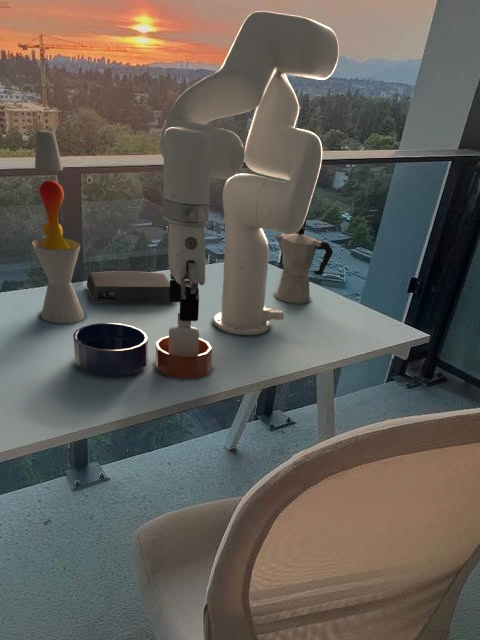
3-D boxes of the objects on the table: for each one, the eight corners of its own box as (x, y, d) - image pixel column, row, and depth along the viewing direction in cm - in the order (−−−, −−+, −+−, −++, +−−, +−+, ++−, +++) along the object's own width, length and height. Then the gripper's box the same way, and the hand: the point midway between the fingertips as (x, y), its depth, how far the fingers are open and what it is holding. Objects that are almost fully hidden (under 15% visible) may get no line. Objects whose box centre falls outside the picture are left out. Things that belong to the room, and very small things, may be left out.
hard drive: (86, 286, 149) (84, 269, 147) (166, 286, 157) (166, 270, 154) (92, 305, 140) (91, 287, 137) (178, 305, 147) (178, 288, 145)
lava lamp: (90, 321, 132) (78, 137, 112) (46, 325, 127) (25, 133, 108) (78, 306, 138) (64, 129, 118) (35, 309, 133) (13, 125, 114)
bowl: (142, 348, 124) (141, 322, 121) (152, 377, 115) (152, 350, 112) (73, 350, 120) (71, 323, 117) (78, 380, 110) (75, 351, 107)
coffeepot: (263, 296, 160) (269, 224, 150) (275, 287, 168) (282, 218, 158) (319, 310, 158) (329, 237, 147) (329, 300, 165) (340, 230, 155)
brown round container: (203, 355, 126) (204, 334, 123) (215, 378, 118) (216, 356, 116) (152, 356, 122) (152, 335, 120) (161, 380, 114) (161, 357, 112)
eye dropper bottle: (176, 359, 122) (177, 300, 116) (201, 367, 121) (204, 307, 115) (164, 367, 119) (164, 306, 112) (190, 374, 118) (192, 314, 111)
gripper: (220, 226, 99) (214, 328, 108) (197, 202, 112) (193, 295, 121) (173, 222, 96) (171, 328, 105) (155, 198, 109) (154, 294, 118)
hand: (183, 310), depth 113 cm, fingers open, 9 cm apart
